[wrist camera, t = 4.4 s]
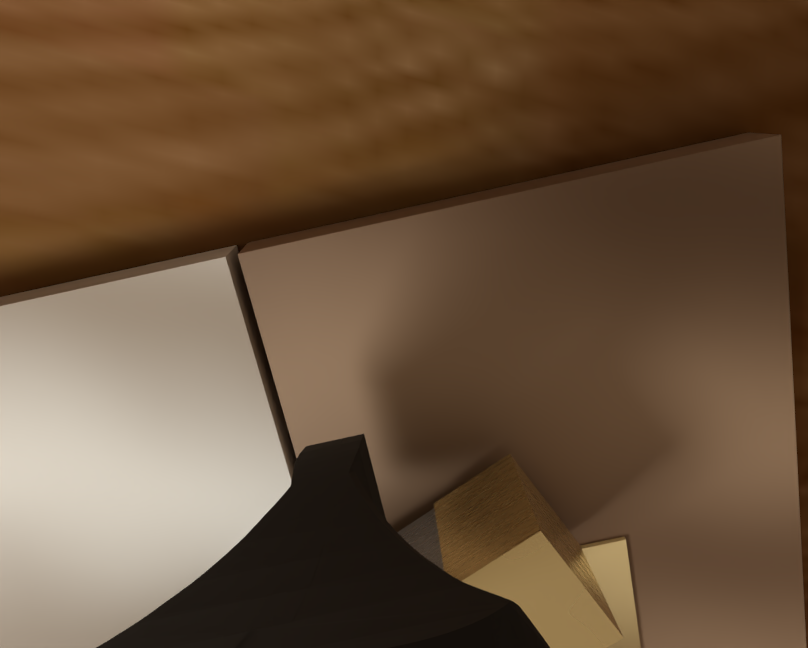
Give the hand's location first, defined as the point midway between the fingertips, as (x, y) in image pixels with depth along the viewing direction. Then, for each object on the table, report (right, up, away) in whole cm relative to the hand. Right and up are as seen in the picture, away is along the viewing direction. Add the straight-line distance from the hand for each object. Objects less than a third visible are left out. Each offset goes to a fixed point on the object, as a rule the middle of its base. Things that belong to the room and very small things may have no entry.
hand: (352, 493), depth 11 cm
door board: (0, -3, +3) cm, 4 cm away
